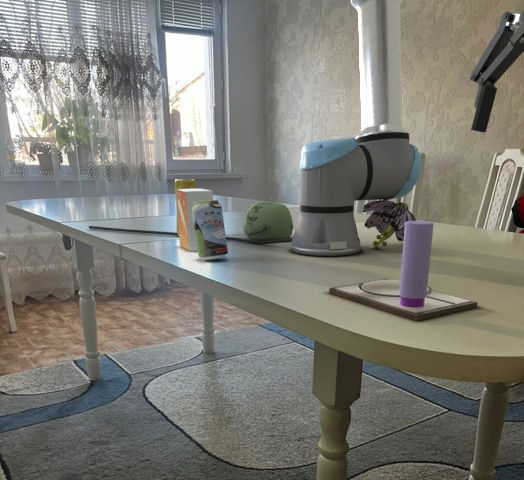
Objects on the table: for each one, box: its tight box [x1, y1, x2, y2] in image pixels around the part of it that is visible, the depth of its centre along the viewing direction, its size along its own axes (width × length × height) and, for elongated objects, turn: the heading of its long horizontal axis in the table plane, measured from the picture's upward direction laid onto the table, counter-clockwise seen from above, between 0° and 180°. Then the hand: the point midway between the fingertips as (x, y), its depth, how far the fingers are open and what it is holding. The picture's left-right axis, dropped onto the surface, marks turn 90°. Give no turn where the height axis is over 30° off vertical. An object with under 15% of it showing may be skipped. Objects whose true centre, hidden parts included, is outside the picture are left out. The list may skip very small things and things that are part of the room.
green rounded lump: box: [243, 202, 294, 241], centre depth 139 cm, size 16×13×9 cm
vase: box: [174, 178, 197, 237], centre depth 143 cm, size 6×6×14 cm
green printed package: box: [192, 199, 229, 261], centre depth 110 cm, size 6×7×12 cm
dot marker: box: [399, 220, 434, 307], centre depth 72 cm, size 4×4×11 cm
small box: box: [177, 188, 214, 252], centre depth 123 cm, size 8×6×13 cm
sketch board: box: [328, 278, 479, 322], centre depth 80 cm, size 18×14×1 cm
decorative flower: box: [362, 200, 417, 250], centre depth 123 cm, size 15×12×15 cm
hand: (514, 133), depth 81 cm, fingers open, 13 cm apart
